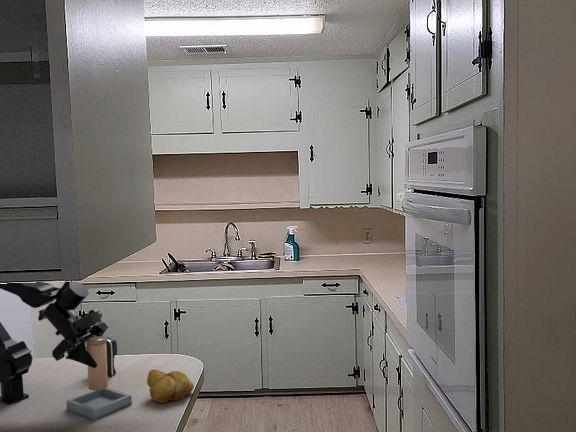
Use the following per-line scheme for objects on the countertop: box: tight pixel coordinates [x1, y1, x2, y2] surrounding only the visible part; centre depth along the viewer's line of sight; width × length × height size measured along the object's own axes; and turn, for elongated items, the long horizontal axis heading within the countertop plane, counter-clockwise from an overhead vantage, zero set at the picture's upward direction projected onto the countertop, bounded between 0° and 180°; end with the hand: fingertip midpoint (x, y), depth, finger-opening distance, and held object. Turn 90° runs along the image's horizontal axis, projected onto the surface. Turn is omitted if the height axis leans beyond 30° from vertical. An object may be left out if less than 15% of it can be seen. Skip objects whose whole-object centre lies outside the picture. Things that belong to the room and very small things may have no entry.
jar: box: [85, 335, 109, 391], centre depth 158 cm, size 5×5×13 cm
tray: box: [66, 387, 133, 421], centre depth 159 cm, size 12×12×2 cm
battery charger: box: [105, 336, 118, 377], centre depth 184 cm, size 7×4×11 cm, turn 58°
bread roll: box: [146, 369, 195, 403], centre depth 164 cm, size 13×10×8 cm
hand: (101, 363), depth 157 cm, fingers closed on jar, 5 cm apart
